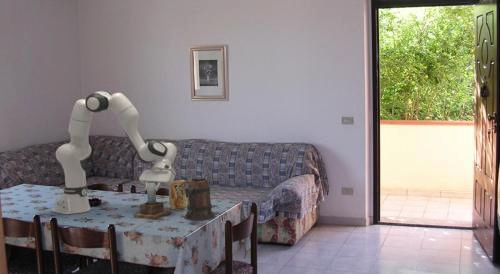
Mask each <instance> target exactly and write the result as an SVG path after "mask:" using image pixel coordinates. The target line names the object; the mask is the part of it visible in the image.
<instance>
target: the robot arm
mask: <svg viewBox="0 0 500 274" xmlns="http://www.w3.org/2000/svg"><path fill="white" fill-rule="evenodd" d="M106 110H110V111H111V112H112V113H113V115H115V117H116V118H117V120H118V121H119V123H120V125H121V127H122V128H123V131H124V133H125V135H126V137H127V138H128V139H129V141H130V143H131V145H132V146H133V148H134V149H135V153H136V155H137V158H138V160H139V161H140V162H142V163H143V164H146V165H149V164H152V163H153V162H154V161H155V162H154V164H153V166H152V168H147V169H144V171H143V172H142V173H141V175H140V177H138V181H139V182H140V183H141V184H142V185H143V184H144V185H145V188H144V190H145V191H147V183H155V188H154V190H155V191H156V192H158V190H159V189H161V188H162V186H168V187H169V186H170V185H171V184H172V183H173V181H175V177H176V174H177V172H176V171H175V169H174V168H173V167H172V164H173V163H174V161H175V158H176V156H177V153H178V148H177V147H176V146H175V144H174V143H172V142H162V141H160V140H159V139H150V140H149V141H148V142H147V143H145V141H144V140H143V138H142V137H141V135H140V133H139V131H138V123H139V120H140V113H139V112H138V109H136V107H135V106H134V105H133V103H132V101H130V100H129V98H127V97H126V96H125V94H123V93H121V92H116V93H113V94H112V93H110V92H109V91H106V90H100V91H99V90H98V91H96V92H92V93H90V94H89V95H87V97H86V98H85V99H84V98H83V99H82V98H81V99H77V101H75V103H74V106H73V108H72V111H71V114H70V119H69V124H68V133H69V134H70V141H69V143H68V142H67V143H64V144H61V146H59V147H57V149H56V151H55V158H56V160H57V161H58V162H59V163H60V164H61V167H62V169H63V172H64V173H63V174H64V179H65V180H64V181H65V187H62V188H61V189H62V191H63V193H62V194H61V195H59V197H58V198H57V199H56V200H55V204H54V207H53V208H52V209H50V211H51V212H53V213H58V214H60V215H61V214H62V215H72V214H82V213H86V212H89V211H91V209H92V208H91V205H90V201H89V196H88V185H87V179H86V178H87V177H86V176H87V175H86V171H85V169H83V167H82V165H81V161H84V160H86V158H88V157H90V155H91V153H92V147H91V145H90V143H89V133H90V127H91V123H92V118H93V115H94V113H95V114H96V113H102V112H105V111H106Z"/></svg>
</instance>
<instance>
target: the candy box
mask: <svg viewBox="0 0 500 274" xmlns="http://www.w3.org/2000/svg"><path fill="white" fill-rule="evenodd" d="M186 185H187V184H186V180H183V179H181V180H174V181H173V183H172V184H171V185H170V186H168V201H169V209H171V210H177V209H182V208H184V209H185V208H187V190H186V189H187V187H186Z"/></svg>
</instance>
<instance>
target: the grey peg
mask: <svg viewBox="0 0 500 274" xmlns="http://www.w3.org/2000/svg"><path fill="white" fill-rule="evenodd" d="M155 187H156V185H155V183H147V190H146V192H147V202H148V204H150V205H151V204H156V202H157V195H156V193H157V191H155V190H154V188H155Z"/></svg>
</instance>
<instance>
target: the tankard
mask: <svg viewBox="0 0 500 274" xmlns="http://www.w3.org/2000/svg"><path fill="white" fill-rule="evenodd" d="M186 189H187V190H186V192H187V204H186V208H187V209H186V210H187V211H186V213H185V215H184V217H183V219H184V220H186V221H190V222H191V221H192V222H202V221H203V222H204V221H210V220H213V219H215V218H216V217H217V216H216V214H214V212H213V211H212V208H213V207H212V203H211V202H212V201H211V200H212V199H211V185H210V183H209V179H208V178H201V177H199V178H190V179H188V183H187V187H186Z"/></svg>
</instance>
